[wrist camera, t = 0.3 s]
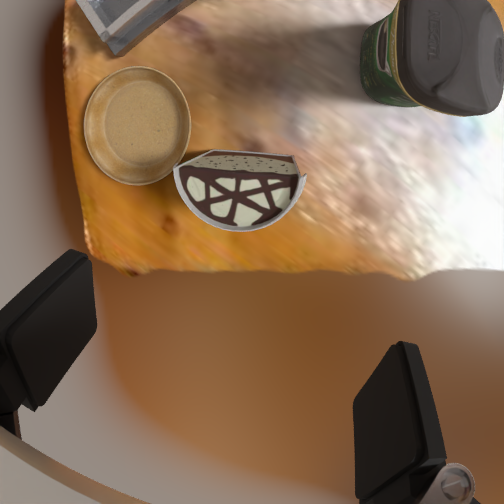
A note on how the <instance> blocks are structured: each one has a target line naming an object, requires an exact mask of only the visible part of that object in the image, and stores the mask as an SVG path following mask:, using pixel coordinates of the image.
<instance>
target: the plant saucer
mask: <svg viewBox="0 0 504 504" xmlns="http://www.w3.org/2000/svg"><path fill="white" fill-rule="evenodd" d="M190 134H191V115H190V110H189V106H188V103H187V101H186V98H185V96H184V94H183V93H182V91H181V89H180V88H179V87H178V85H177V84H176V83H175V82H174V81H173V80H172V79H171V78H170V77H169V76H167V75H166V74H164V73H163V72H161V71H158V70H156V69H154V68H150V67H145V66H131V67H127V68H123V69H121V70H118V71H116V72H114V73H112V74H111V75H109V76H108V77H106V78H105V79H104V80H103V81H102V82H101V83H100V84H99V85H98V86H97V88H96V89H95V91H94V92H93V94H92V96H91V98H90V100H89V102H88V105H87V108H86V112H85V117H84V135H85V141H86V144H87V148H88V150H89V153H90V155H91V157H92V158H93V160H94V162H95V163H96V165H97V166H98V167H99V168H100V169H101V170H102V171H103V172H104V173H105V174H106V175H108V176H109V177H111V178H112V179H114V180H116V181H118V182H120V183H124V184H128V185H147V184H151V183H154V182H157V181H159V180H161V179H163V178H164V177H166V176H167V175H168V174H170V173H171V172H172V171H173V166H174V165H175V164H176V163H178V164H179V163H180V161H181V160H182V158H183V156H184V154H185V152H186V149H187V146H188V143H189V139H190Z"/></svg>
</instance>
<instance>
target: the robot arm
mask: <svg viewBox="0 0 504 504" xmlns="http://www.w3.org/2000/svg"><path fill="white" fill-rule="evenodd" d="M96 329H97V318H96V309H95V299H94V287H93V274H92V263H91V261H90V260H89V259H88V256H87V255H86V254H84V253H82V252H79V251H76V250H73V249H69V250H68V251H67V252H65V253H64V254H63V255H62V256H60V257H59V258H58V259H57V260H56V261H54V262H53V263H52V264H51V265H50V266H49V267H47V268H46V269H45V270H44V271H43V272H42V273H40V274H39V275H38V276H37V277H36V278H35V279H34V280H33V281H31V282H30V283H29V284H28V285H27V286H26V287H25V288H24V289H23V290H21V291H20V292H19V293H18V294H17V295H16V296H15V297H14V298H13V299H12V300H11V301H10V302H9V303H8V304H6V306H4V307H3V308H2V309H1V310H0V504H150V503H147V502H144V501H142V500H139V499H136V498H134V497H131V496H129V495H126V494H124V493H121V492H119V491H116V490H114V489H112V488H110V487H107V486H105V485H102V484H100V483H98V482H96V481H94V480H92V479H90V478H88V477H86V476H84V475H82V474H80V473H78V472H76V471H74V470H72V469H70V468H68V467H66V466H64V465H62V464H61V463H59V462H57V461H55V460H53V459H52V458H50V457H48V456H46V455H45V454H43V453H41V452H40V451H38V450H36V449H35V448H33V447H32V446H30V445H29V444H27V443H25V442H24V441H22V437H21V431H20V424H19V416H18V408H19V407H20V405H21V404H22V405H24V406H26V407H27V408H29V409H30V410H32V411H34V412H35V410H36V409H37V408H38V406H43V405H44V404H45V403H46V401H47V400H48V398H49V397H50V395H51V394H52V392H53V391H54V389H55V388H56V387H57V385H58V384H59V382H60V381H61V379H62V378H63V377H64V375H65V374H66V372H67V371H68V369H69V368H70V367H71V365H72V364H73V363H74V361H75V360H76V358H77V357H78V356H79V354H80V353H81V351H82V350H83V349H84V347H85V346H86V345H87V343H88V342H89V341H90V339H91V338H92V337H93V335H94V334H95V332H96ZM353 421H354V444H355V445H354V446H355V495H356V498H358V499H359V504H480V503H479V502H478V501H477V500H476V499H475V498H474V497H473V495H474V492H475V482H474V479H473V476H472V474H471V473H470V471H469V470H468V469H467V468H466V467H464V466H462V465H461V464H457V463H451V464H448V465H446V462H445V459H447V456H446V451H445V447H444V442H443V437H442V432H441V428H440V424H439V419H438V415H437V411H436V407H435V403H434V399H433V395H432V392H431V388H430V384H429V381H428V377H427V374H426V371H425V367H424V364H423V361H422V358H421V354H420V351H419V348H418V346H417V345H416V344H413V343H408V342H403V341H399V342H398V343H397V344H396V345H391V347H390V348H389V350H388V351H387V352H386V354H385V356H384V357H383V359H382V360H381V362H380V363H379V365H378V366H377V367H376V369H375V370H374V372H373V373H372V375H371V376H370V378H369V379H368V380H367V382H366V383H365V385H364V386H363V387H362V389H361V390H360V392H359V393H358V394H357V396H356V397H355V399H354V402H353Z"/></svg>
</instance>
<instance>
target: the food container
mask: <svg viewBox="0 0 504 504" xmlns="http://www.w3.org/2000/svg"><path fill="white" fill-rule="evenodd" d="M173 172H174V179H175V183H176V187H177V189H178V191H179V194H180V196H181V197H182V199H183V201H184V202H185V204H186V205H187V206H188V207H189V209H190V210H191V211H192V212H193V213H194V214H195V215H196V216H198V217H199V218H200V219H202V220H203V221H205V222H206V223H208V224H210V225H212V226H214V227H217V228H220V229H223V230H229V231H239V232H245V231H254V230H258V229H261V228H264V227H267V226H269V225H271V224H273V223H274V222H276V221H278V220H279V219H281V218H282V217H283V216H284V215H285V214H286V213H287V212H288V211H289V210H290V209H291V208H292V207H293V205H294V204H295V203H296V202H297V200H298V198H299V197H300V195H301V193H302V191H303V188H304V185H305V182H306V177H307V174H306V173H305V174H304V175H303V176H301V175H300V172H299V169H298V166H297V163H296V161H295V158H294V156H293V155H283V154H272V153H261V152H249V151H235V150H218V149H212V150H210V151H208V152H206V153H204V154H201V155H199V156H197V157H195V158H193V159H191V160H189V161H186V162H184V163H182V164H180V165H178V163H176V164H175V165H174V166H173Z"/></svg>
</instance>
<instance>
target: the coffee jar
mask: <svg viewBox="0 0 504 504" xmlns="http://www.w3.org/2000/svg"><path fill="white" fill-rule="evenodd" d="M360 75H361V83H362V87H363V89H364V90H365V92H366V93H367V95H368V96H369V97H371V98H372V99H374V100H375V101H378V102H380V103H383V104H388V105H392V106H398V107H417V106H423V107H425V108H428V109H430V110H433V111H436V112H440V113H444V114H448V115H453V116H460V117H466V116H475V115H483V114H488V113H490V112H492V111H493V110H495V109H496V107H497V106H498V105H499V103H500V101H501V98H502V94H503V86H504V32H503V28H502V25H501V22H500V20H499V18H498V16H497V14H496V12H495V10H494V9H493V7H492V6H491V4H490V3H489V2H488V1H487V0H399V1H398V3H397V4H396V6H395V8H394V10H393V11H392V13H391V14H389V15H388V16H386V17H385V18H383V19H382V20H380V21H378V22H376V23H374V24H373V25H372V26H370V27H369V28H368V29H367V30H366V32H365V34H364V36H363V41H362V47H361V57H360Z"/></svg>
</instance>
